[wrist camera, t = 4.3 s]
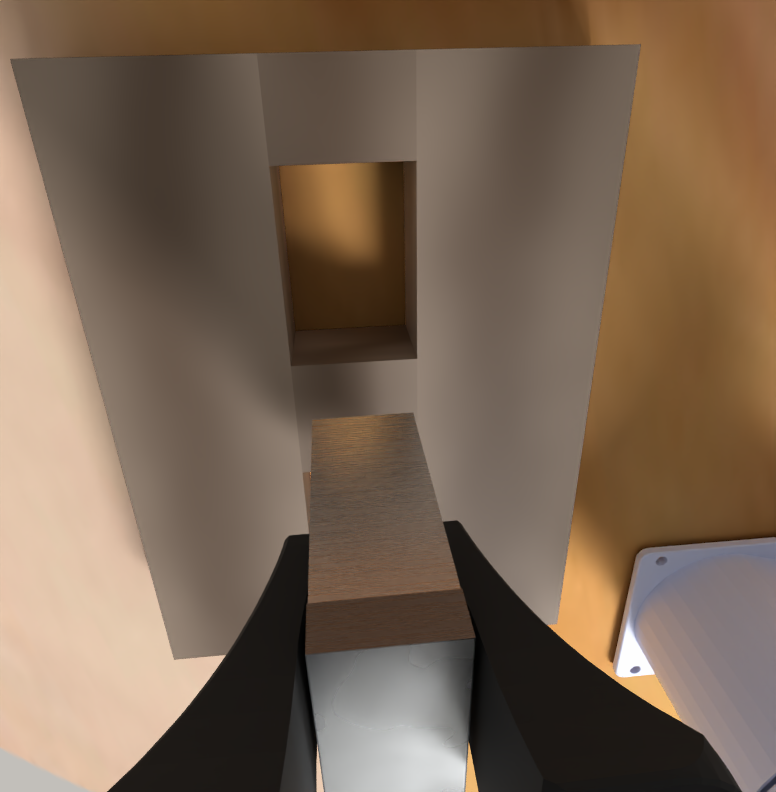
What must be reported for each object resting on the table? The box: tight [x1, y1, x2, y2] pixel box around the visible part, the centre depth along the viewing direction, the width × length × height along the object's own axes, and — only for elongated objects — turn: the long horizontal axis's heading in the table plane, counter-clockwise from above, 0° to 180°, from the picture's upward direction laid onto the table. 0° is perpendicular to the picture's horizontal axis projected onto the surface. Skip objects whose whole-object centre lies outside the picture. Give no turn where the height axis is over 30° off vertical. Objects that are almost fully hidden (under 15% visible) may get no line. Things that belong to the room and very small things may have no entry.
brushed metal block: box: [305, 412, 476, 792], centre depth 13 cm, size 3×4×7 cm, turn 2°
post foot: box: [10, 44, 641, 660], centre depth 20 cm, size 15×20×3 cm
